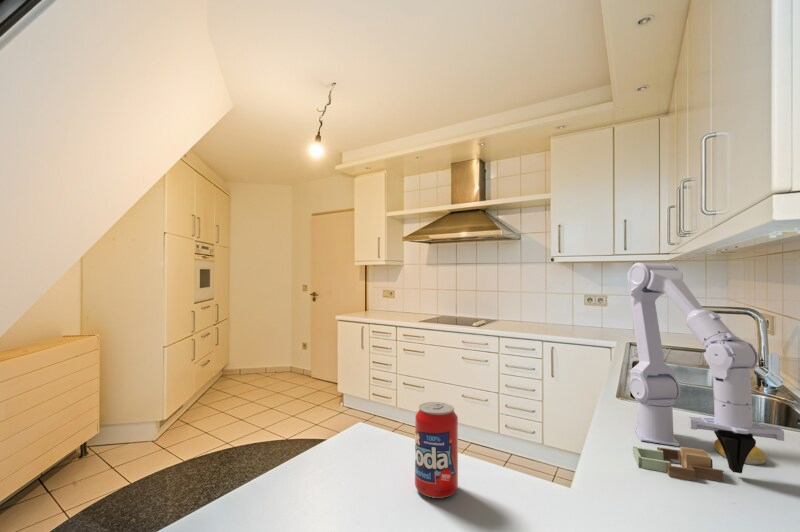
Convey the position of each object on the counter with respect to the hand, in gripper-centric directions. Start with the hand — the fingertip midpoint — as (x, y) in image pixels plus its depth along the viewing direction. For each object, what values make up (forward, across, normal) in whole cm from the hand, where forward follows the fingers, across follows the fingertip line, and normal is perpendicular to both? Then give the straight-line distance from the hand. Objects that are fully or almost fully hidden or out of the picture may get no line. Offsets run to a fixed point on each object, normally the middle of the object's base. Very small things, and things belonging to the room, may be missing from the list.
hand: (735, 470), depth 74 cm
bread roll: (+2, +5, +13) cm, 14 cm away
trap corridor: (+1, -10, 0) cm, 10 cm away
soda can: (+2, -53, -29) cm, 60 cm away
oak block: (+2, -6, 0) cm, 7 cm away
